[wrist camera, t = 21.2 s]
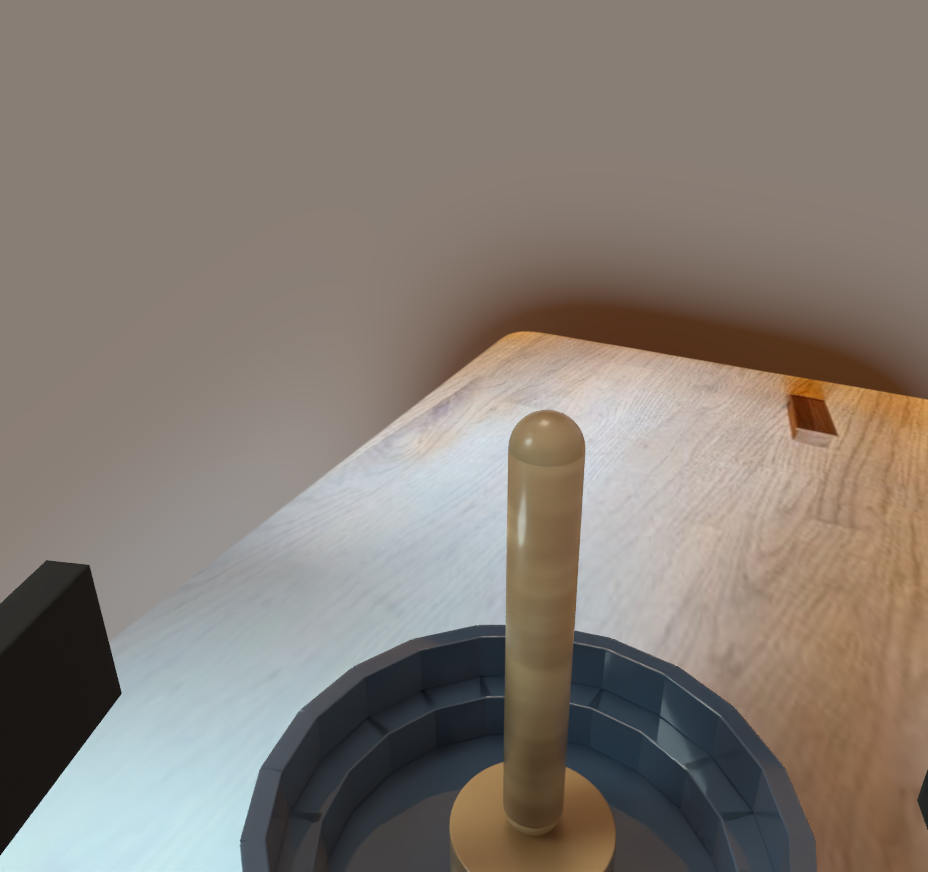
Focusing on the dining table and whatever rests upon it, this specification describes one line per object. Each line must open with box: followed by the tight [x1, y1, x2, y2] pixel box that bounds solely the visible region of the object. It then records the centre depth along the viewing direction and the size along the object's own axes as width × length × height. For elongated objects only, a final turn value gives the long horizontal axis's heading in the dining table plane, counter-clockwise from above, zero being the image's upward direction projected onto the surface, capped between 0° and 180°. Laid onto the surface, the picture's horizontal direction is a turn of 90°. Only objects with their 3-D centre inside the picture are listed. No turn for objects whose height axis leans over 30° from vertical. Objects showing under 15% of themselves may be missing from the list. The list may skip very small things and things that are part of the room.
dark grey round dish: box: [240, 625, 817, 872], centre depth 28 cm, size 18×18×5 cm
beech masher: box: [449, 410, 616, 872], centre depth 25 cm, size 6×6×18 cm
